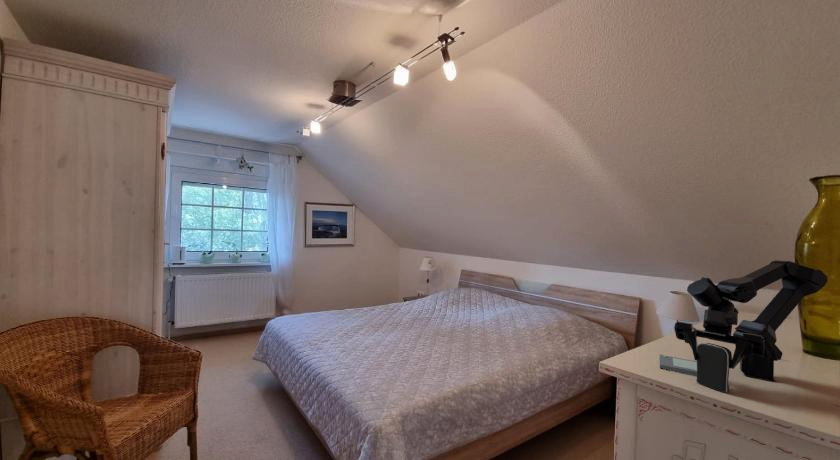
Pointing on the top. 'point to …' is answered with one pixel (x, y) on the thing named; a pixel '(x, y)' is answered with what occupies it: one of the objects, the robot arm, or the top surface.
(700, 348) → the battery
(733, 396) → the top surface
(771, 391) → the top surface
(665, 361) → the charging pad
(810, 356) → the top surface
